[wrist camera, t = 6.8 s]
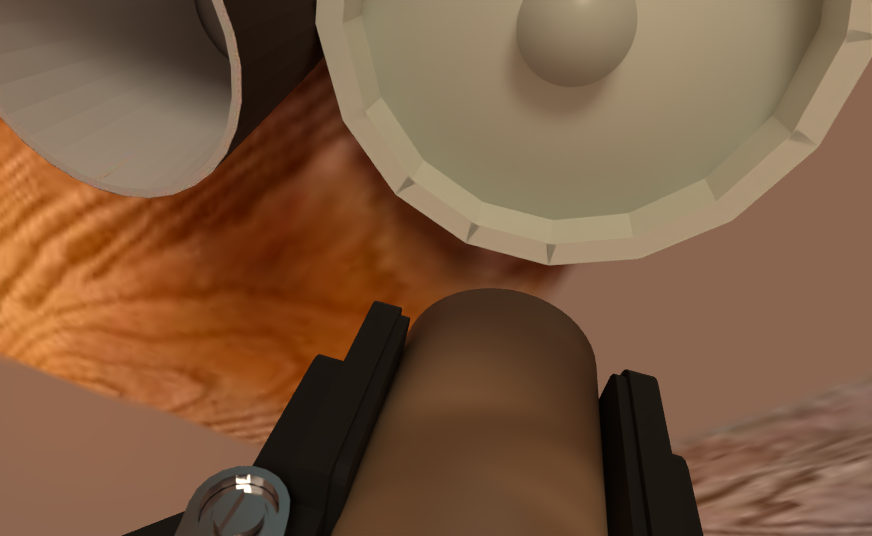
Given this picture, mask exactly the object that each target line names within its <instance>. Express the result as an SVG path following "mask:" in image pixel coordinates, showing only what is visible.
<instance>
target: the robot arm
mask: <svg viewBox="0 0 872 536" xmlns="http://www.w3.org/2000/svg"><path fill="white" fill-rule="evenodd" d="M401 312H402V308H401V307H397V306H394V305H390V304H386V303H383V302H379V301H374V303H373V304H372V306H371V308H370V310H369V312H368V314H367V316H366V318H365V320H364V322H363V324H362V326H361V328H360V330H359V332H358V334H357V336H356V338H355V340H354V342H353V344H352V346H351V348H350V350H349V352H348V354H347V356H346V358H345V360H344V361H341V360H338V359H334V358H331V357H327V356H324V355H320V354H318V355H317V356H316V357H315V359H314V360H313V361H312V363H311V365H310V367H309V368H308V370H307V372H306V373H305V375H304V377H303V379H302V380H301V382H300V384H299V386H298V387H297V389H296V391H295V393H294V394H293V396H292V398H291V400H290V401H289V403H288V405H287V406H286V408H285V410H284V412H283V413H282V415H281V417H280V419H279V420H278V422H277V424H276V426H275V427H274V429H273V431H272V433H271V434H270V436H269V438H268V439H267V441H266V443H265V445H264V446H263V448H262V450H261V452H260V453H259V455H258V457H257V459H256V460H255V462H254V464H253V466H237V467H233V468H229V469H226V470H222V471H220V472H219V473H217V474H215V475H213V476H211V477H209V478H208V479H207V480H206V481H205V482H204V483H203V484H202V485H200V486H199V487H198V488H197V490H196V491H195V493H194V494H193V496H192V498H191V499H190V501H189V503H188V505H187V508H186V510H185V511H184V512H182V513H179V514H176V515H174V516H171V517H168V518H166V519H163V520H161V521H158V522H156V523H153V524H151V525H148V526H145V527H143V528H141V529H138V530H135V531H133V532H130V533H128V534H125V535H122V536H331V533H332V531H333V528H334V527H335V525H336V523H337V521H338V519H339V518H340V516H341V513H342V511H343V508H344V505H345V503H346V500H347V497H348V495H349V492H350V490H351V487H352V484H353V482H354V479H355V476H356V474H357V471H358V468H359V466H360V463H361V461H362V458H363V455H364V453H365V450H366V447H367V445H368V442H369V439H370V437H371V434H372V431H373V429H374V426H375V424H376V421H377V418H378V416H379V413H380V410H381V408H382V405H383V402H384V400H385V397H386V395H387V392H388V389H389V387H390V384H391V381H392V379H393V376H394V373H395V371H396V368H397V366H398V363H399V360H400V358H401V355H402V352H403V350H404V346H405V342H406V337H407V332H408V327H409V322H410V317H406V316H402V315H401ZM599 412H600V426H601V441H602V456H603V470H604V485H605V500H606V514H607V529H608V536H703V532H702V527H701V523H700V518H699V514H698V509H697V505H696V501H695V496H694V492H693V487H692V483H691V478H690V474H689V469H688V466H687V464H686V461H685V460H684V459H683V457H682V456H678V455H675V454H672V450H671V445H670V440H669V435H668V431H667V426H666V421H665V417H664V411H663V406H662V401H661V396H660V391H659V386H658V382H657V379H656V378H655V377H653V376H649V375H645V374H642V373H638V372H634V371H630V370H624V371H623V372H622V373H621V375H617V374H612V375H611V376H610V378H609V380H608V383H607V384H606V386H605V388H604V390H603V392H602V394H601V396H600V398H599Z"/></svg>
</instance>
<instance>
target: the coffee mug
mask: <svg viewBox="0 0 872 536" xmlns="http://www.w3.org/2000/svg"><path fill="white" fill-rule="evenodd" d="M316 7H317V0H0V118H1V119H2V120H3V121H4V122H5V123H6V124H7V125H8V126H9V127H10V128H11V129H12V130H13V131H14V132H15V133H16V134H17V135H18V136H19V137H20V139H21V140H22V141H23V142H24V143H26V144H27V145H28V146H29V147H30V148H32V149H33V150H34V151H35V152H37V153H38V154H39V155H40V156H42V157H43V158H44V159H45V160H46V161H48V162H49V163H51V164H52V165H54V166H55V167H57V168H59V169H60V170H62V171H63V172H65V173H67V174H68V175H70V176H71V177H73V178H75V179H77V180H79V181H82V182H84V183H86V184H88V185H91V186H93V187H95V188H98V189H100V190H103V191H107V192H111V193H115V194H119V195H123V196H129V197H143V198H153V197H160V196H167V195H173V194H176V193H178V192H181V191H183V190H186V189H188V188H191V187H193V186H195V185H196V184H197V183H199V182H200V181H201V180H203V179H204V178H205V177H207V176H208V175H209V174H211V173H212V172H213V171H214V170H215V169H216V168H217V167H218V166H219V165H220V164H221V163H222V162H223V161H224V160H225V159H226V158H227V157H228V156H229V155H230V154H231V152H232V151H233V150H234V149H235V148H236V147H237V146H238V145H239V144H240V143H241V142H242V141H243V140H244V139H245V138H246V137H247V136H248V135H249V134H250V133H251V132H252V131H253V130H254V129H255V128H256V127H257V126H258V125H259V124H260V123H261V122H262V121H263V120H264V119H265V118H266V117H267V116H268V115H269V114H270V113H271V111H272V110H273V109H274V108H275V107H276V106H277V105H278V104H279V103H280V102H281V101H282V100H283V99H284V98H285V97H286V96H287V95H288V94H289V93H290V92H291V91H292V90H293V89H294V88H295V87H296V86H297V85H298V84H299V83H300V82H301V81H302V80H303V79H304V78H305V77H306V76H307V75H308V74H309V73H310V72H311V70H312V69H313V68H314V67H315V66H316V65H317V64H318V63H319V61H320V60H321V59H322V58H323V56H324V52H323V48H322V45H321V41H320V38H319V34H318V30H317V27H316V24H315V23H316Z"/></svg>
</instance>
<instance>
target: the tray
mask: <svg viewBox="0 0 872 536" xmlns="http://www.w3.org/2000/svg"><path fill="white" fill-rule="evenodd" d="M315 24H316V27H317V30H318V34H319V38H320V41H321V45H322V48H323V52H324V55H325V59H326V62H327V66H328V69H329V73H330V77H331V80H332V84H333V87H334V91H335V94H336V98H337V101H338V105H339V108H340V112H341V115H342V119H343V121H344V123H345V124H346V126H347V127H348V128H349V130H350V131H351V133H352V134H353V135H354V137H355V138H356V140H357V141H358V142H359V144H360V145H361V147H362V148H363V149H364V151H365V152H366V154H367V155H368V156H369V158H370V159H371V161H372V162H373V164H374V165H375V166H376V168H377V169H378V171H379V172H380V173H381V175H382V176H383V178H384V179H385V180H386V182H387V183H388V185H389V186H390V187H391V189H392V190H393V192H394V193H395V194H396V195H397V196H398V197H400V198H401V199H403V200H404V201H406V202H407V203H409V204H410V205H411V206H413V207H414V208H416V209H417V210H419V211H420V212H422V213H423V214H424V215H426V216H427V217H429V218H430V219H432V220H433V221H435V222H436V223H437V224H439V225H440V226H442V227H443V228H445V229H446V230H448V231H449V232H450V233H452V234H453V235H455V236H456V237H458V238H459V239H461V240H462V241H463V242H465V243H467V244H471V245H474V246H478V247H482V248H486V249H489V250H493V251H497V252H500V253H504V254H508V255H512V256H515V257H519V258H523V259H527V260H530V261H534V262H538V263H541V264H545V265H562V264H576V263H590V262H604V261H618V260H632V259H640V258H643V257H645V256H648V255H650V254H653V253H655V252H657V251H660V250H662V249H665V248H667V247H669V246H672V245H674V244H677V243H679V242H682V241H684V240H686V239H689V238H691V237H694V236H696V235H698V234H701V233H703V232H706V231H708V230H711V229H713V228H716V227H718V226H720V225H723V224H725V223H728V222H730V221H732V220H734V219H735V218H736V217H737V216H738V215H739V214H741V212H743V211H744V210H745V209H746V208H747V207H749V206H750V205H751V204H752V203H753V202H755V201H756V200H757V199H758V198H759V197H760V196H761V195H763V194H764V193H765V192H766V191H767V190H769V189H770V188H771V187H772V186H773V185H774V184H775V183H777V182H778V181H779V180H780V179H781V178H783V177H784V176H785V175H786V174H787V173H788V172H790V171H791V170H792V169H793V168H794V167H795V166H796V165H798V164H799V163H800V162H801V161H802V160H804V159H805V158H806V157H807V156H808V155H809V154H811V153H812V152H813V151H814V150H815V149H816V148H818V147H819V145H820V143H821V142H822V140H823V138H824V137H825V135H826V133H827V132H828V130H829V128H830V126H831V125H832V123H833V121H834V120H835V118H836V116H837V115H838V113H839V111H840V109H841V108H842V106H843V105H844V103H845V101H846V99H847V97H848V96H849V95H850V93H851V91H852V89H853V88H854V86H855V84H856V83H857V81H858V79H859V78H860V76H861V74H862V73H863V71H864V69H865V68H866V66H867V64H868V63H869V61H870V59H871V57H872V0H317V7H316V23H315Z"/></svg>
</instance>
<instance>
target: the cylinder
mask: <svg viewBox="0 0 872 536" xmlns="http://www.w3.org/2000/svg"><path fill="white" fill-rule="evenodd" d="M331 536H608V529H607V514H606V500H605V485H604V470H603V456H602V441H601V426H600V412H599V397H598V384H597V369H596V361H595V355H594V353H593V350H592V347H591V345H590V343H589V341H588V339H587V337H586V335H584V333H583V331H582V330H581V329H580V328H579V326H578V325H577V324H576V323H575V322H574V321H573V320H572V319H571V318H570V317H569V316H567V315H566V314H565V313H564V312H562V311H561V310H560V309H558V308H556V307H555V306H553V305H551V304H550V303H548V302H546V301H544V300H542V299H539V298H537V297H535V296H531V295H528V294H525V293H522V292H517V291H513V290H506V289H496V288H485V289H474V290H467V291H463V292H459V293H456V294H453V295H450V296H448V297H445V298H443V299H441V300H439V301H438V302H436V303H434V304H433V305H431V306H430V307H429V308H427V309H426V310H425V311H424V312H423V313H422V314H421V315H420V316H419V317H418V318H417V320H416V321H415V322H414V324H413V325H412V327H411V329H410V331H409V333H408V336H407V338H406V342H405V346H404V350H403V352H402V355H401V358H400V360H399V363H398V366H397V368H396V371H395V373H394V376H393V379H392V381H391V384H390V387H389V389H388V392H387V395H386V397H385V400H384V402H383V405H382V408H381V410H380V413H379V416H378V418H377V421H376V424H375V426H374V429H373V431H372V434H371V437H370V439H369V442H368V445H367V447H366V450H365V453H364V455H363V458H362V461H361V463H360V466H359V468H358V471H357V474H356V476H355V479H354V482H353V484H352V487H351V490H350V492H349V495H348V497H347V500H346V503H345V505H344V508H343V511H342V513H341V516H340V518H339V519H338V521H337V523H336V525H335V527H334V528H333V531H332V533H331Z"/></svg>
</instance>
